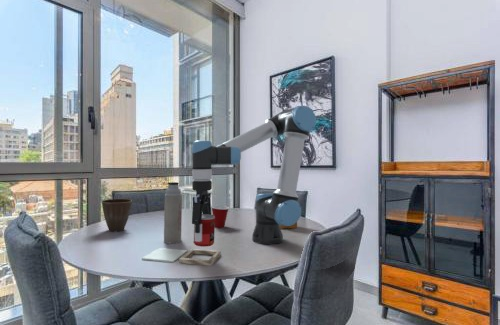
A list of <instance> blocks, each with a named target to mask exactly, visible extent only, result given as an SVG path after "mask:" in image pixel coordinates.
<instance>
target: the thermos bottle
mask: <svg viewBox="0 0 500 325" xmlns="http://www.w3.org/2000/svg"><path fill="white" fill-rule="evenodd" d="M167 183H168V184H167V185H168V186H167V187H168V188H166V190H165V194H164V207H163V208H164V210H163V212H164V213H163V216H164V219H163V221H164V224H163V229H164V230H163V242H164V243H165V242H166V244H177V243H180V242H181V241H182V222H183V221H182V218H183V217H182V210H183V209H182V207H183V206H182V205H183V204H182V203H183V194H182V193H181V191H182V190H181V189H180V188H179V187H180V186H179V182H175V181H173V182H167ZM176 242H177V243H176Z"/></svg>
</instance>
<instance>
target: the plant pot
mask: <svg viewBox="0 0 500 325" xmlns="http://www.w3.org/2000/svg"><path fill="white" fill-rule="evenodd" d="M132 204H133V199H128V198H113V199H112V198H111V199H105V200H102V201H101V205H102V206H101V207H102V211H103V217H104V220H105V223H106V227H107V228H108V231H109V232H122V231H124V230H125V228H126V226H127V223H128V219H129V216H130V213H131V208H132Z"/></svg>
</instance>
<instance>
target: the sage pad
mask: <svg viewBox="0 0 500 325" xmlns="http://www.w3.org/2000/svg"><path fill="white" fill-rule="evenodd" d="M186 253H188V249H176V248H175V249H174V248H164V247H163V248H162V247H159V248H156V249H155V250H153V251H151V252H150V253H148V254H146V255H145V256H143V257H142V258H141V260H142V261H143V260H144V261H154V262H161V263H162V262H163V263H164V262H165V263H174V262H176V261H177V260H179V259H180V258H181V257H182V256H184V255H185V254H186Z"/></svg>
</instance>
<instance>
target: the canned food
mask: <svg viewBox="0 0 500 325" xmlns="http://www.w3.org/2000/svg"><path fill="white" fill-rule="evenodd" d="M201 224H202V241H195V224H193V244H194V246H197V247H204V248H206V247H210V246H213V245H214V243H215V228H216V227H215V216H214V215H213V214H211V215H210V214H203V213H202V219H201Z"/></svg>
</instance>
